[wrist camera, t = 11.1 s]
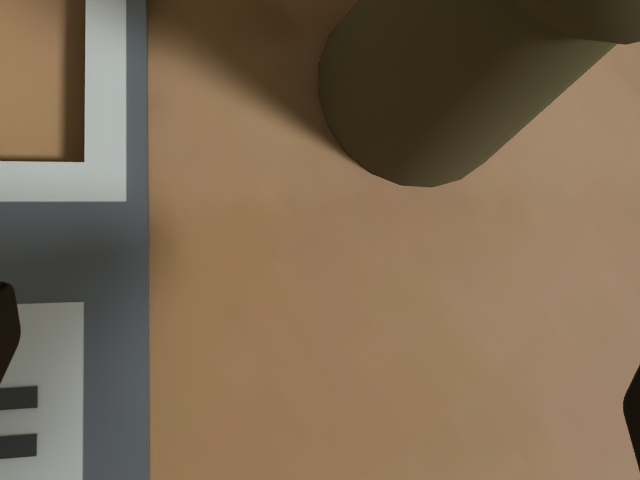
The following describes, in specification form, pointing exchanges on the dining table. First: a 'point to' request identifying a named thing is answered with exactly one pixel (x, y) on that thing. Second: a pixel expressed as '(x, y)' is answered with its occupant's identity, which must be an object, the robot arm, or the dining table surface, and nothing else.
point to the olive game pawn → (456, 76)
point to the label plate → (83, 277)
